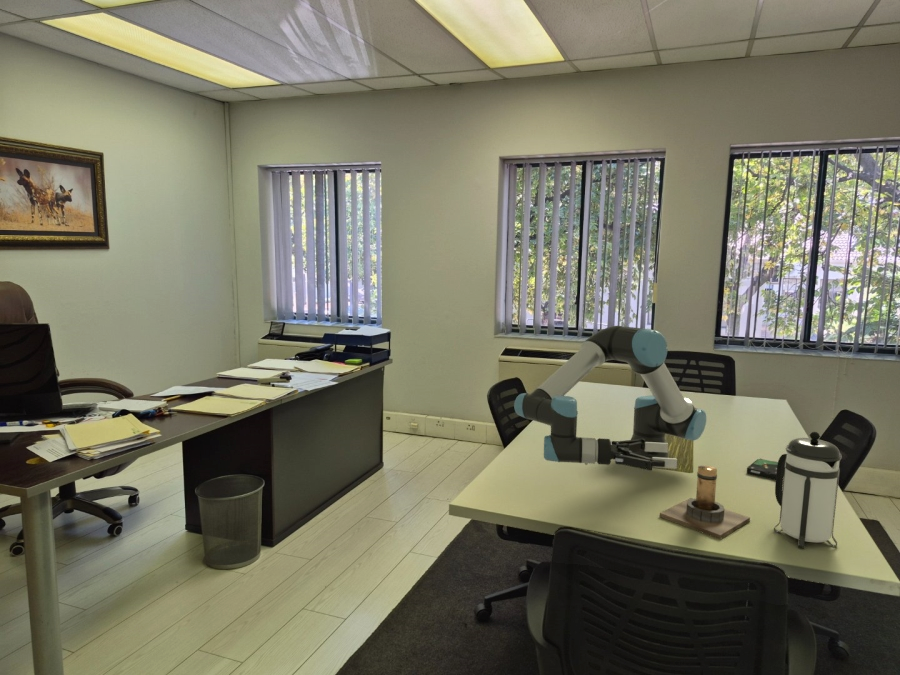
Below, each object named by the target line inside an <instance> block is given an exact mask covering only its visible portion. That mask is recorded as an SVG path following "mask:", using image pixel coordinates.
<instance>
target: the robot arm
mask: <svg viewBox="0 0 900 675" xmlns="http://www.w3.org/2000/svg"><path fill="white" fill-rule="evenodd" d="M667 343H668V342H667V340H666V337H665V336H664V335H663V334H662V333H661V332H660V331H657V330H654V329H651V328H642V327H633V326H625V325H624V326H623V325H612V326H608V327H605V328H603V329H601V330H599V331H597V332H596V333H594V334H593V335H590V336H589V337H588V338H587V339H585V341H583V342H582V343H581V345H580V349H579V350H578V351H577V352H575V353H574V355H572V356H571V357H570V358H569V359H568V360H567V361H566V362H564V363H563V364H562V365H561V366H560V367H559V368H558V369H556V370H555V371H554V372H553V373H552V374H551V375H550V376H549V377H548V378H547V379H545V381H543V382H542V383H540V385H538V386H537V388H535V389H534V390H533V391H532V392H531V393H526V392H524V393H520V394H518V396H516V398H515V400H514V405H513V407H514V411H515V414H516V415H517V416H520V417H522V418H524V419H526V420H530V421H534V422H538V423H541V424H544V425H547V426H549V427H550V434H549V435H545V436H544V438H543V459H545V460H546V461H547V462H548V461H549V462H555V463H556V462H558V463H573V464H574V463H576V464H578V463H579V464H584V465H585V466H588V464H590V465H591V464H592V465H593V464H594V465H595V464H596V463H597V464H598V465H602V466H603V465H606V466H609V465H610V464H611V462H612V460H615V461H614V462H615V463H614V464H616V465H624V466H628V467H632V468H637V469H641V470H645V471H646V470H647V471H653V468H660V469H676V470H677V468H678V458H673V457H670V456H669V455H670V454H669V453H670V451H669V443H668V442H667V441H666V435H669V436H672V437H677V438H680V439H683V440H689V441H697V440H698V439H699V438H701V437H702V435H703V433H704V431H705V428H706V424H707V413H706V411H705V410H703V409H701V408H697V407H695V405H694V404H693V402H692V401H691V400H690V399H689V398H687V397H685V396H684V395H683V394H682V391H681V389H680V388H679V386H678V385H677V382H676V381H675V380H674V377H673V376H672V374H671V372H670V371H669V369H668V367H667V365H666V363H665V361H666V359H667V355H668V348H667V347H668V344H667ZM613 360H614V361H618V362H624V363H627V364H628V365H629V367H630V369H631V370H632V371H633V372H634V374H637V375H640V376H641V378H642V380H643V381H644V382H645V384H646V386H647V387H648V389H649V391H650V392H651V395H643V396H638V397H637V398H636V399H635V401H634V407H633V411H634V412H633V424H632V425H633V429H632V430H633V431H632V436H631V438H630V439H629V440H612V441H611V439H610V438H598V439H596V438H595V437H582V436H581V437H578V436H577V431H578V430H577V429H578V428H577V427H578V414H579V413H578V401H577V399H575V398H576V397H573V396H569V395H567V394H568V392H570V391H571V390H572V389H573V388H574V387H575V386H576V385H577V384H578V383H579V382H581V381H582V380H583V379H584V378H585V377H586V376H587V375H588V374H589V373H590V372H591V371H592V370H594V369H595V368H596V367H597V366H602V365H603V364H604V363H605V362H607V361H613Z"/></svg>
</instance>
